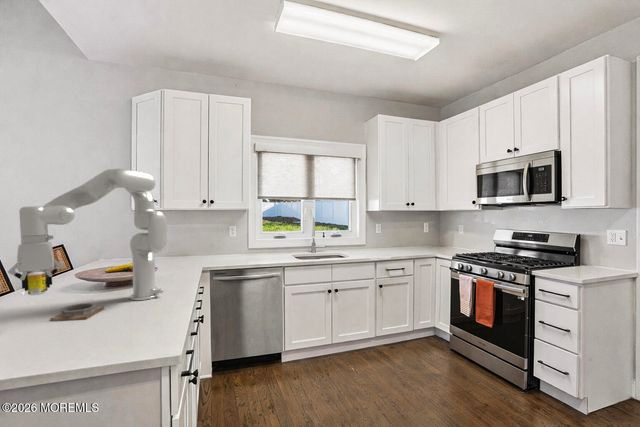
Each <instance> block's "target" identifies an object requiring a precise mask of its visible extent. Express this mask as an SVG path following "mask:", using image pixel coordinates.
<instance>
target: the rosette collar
mask: <svg viewBox="0 0 640 427" xmlns="http://www.w3.org/2000/svg"><path fill="white" fill-rule="evenodd" d="M103 309H104V310H105V306H96V304H95V303H80V304H79V303H77V304H73V305H69V306H66V307H64V308H61V313H59V314H57V315H55V316H51V317H50V320H49V321H50V322H54V321H55V322H57V321H58V322H59V321H80V320H81V321H82V320H88V319H89V318H92V317H93V316H95V315H97V314H99V313H100V312H102V311H104V310H103Z"/></svg>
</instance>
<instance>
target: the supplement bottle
mask: <svg viewBox="0 0 640 427" xmlns="http://www.w3.org/2000/svg"><path fill="white" fill-rule="evenodd" d="M47 275H48V274H47V272H46V271H45V270H35V271H31V272H27V275H26V278H27V288H28V290H27V295H29V296H39V295H40V296H41V295H44V294H45V293H48V289H49V288H47Z"/></svg>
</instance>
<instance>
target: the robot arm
mask: <svg viewBox="0 0 640 427" xmlns="http://www.w3.org/2000/svg"><path fill="white" fill-rule="evenodd" d="M155 187H156V180H155V178H154V177H153V176H152V175H151V174H149V173H146V172H143V171H138V170H137V171H136V170H131V169H126V168H110V169H109V168H108V169H106V170H103V171H102V172H100V173H98V174H96V176H94V177H92V178H90V180H88V181H86V182H84V183H83V184H81V185H79V186H77V187H75V188H73V189H71V190H69V191H67V192H64V193H62V194H61V195H59V196H57V197H55V198H53V199H51V200H50V201H49V202H47V203H45V204H44V205H43V206H41V205H40V206H39V205H36V206H35V205H34V206H30V205H29V206H22V207H20V209H19V210H18V211H19V227H20V228H19V229H20V243H21V244H18V247H17V256H16V263H15V264H14V265H13V266H11V267H10V269H9V270H8V271H7V273H8V274H10V275H12V276H14V277H15V278H17V279H19V280H20V281H21V289H24V291H25V292H28V288H27V273H28V272H31V271H35V270H45V271H46V272H47V288H48V289H49V288H51V286H53V276H54V275H55V274H56V273H57V272H58V271H60V269H62V268H63V266H64V265H63V264H62V263H61V262H59V261H58V260H56V259H55V255H54V249H53V248H54V247H53V245H52V241H51V240H54V235H50V234H49V230H48V229H49V228H48V226H49V225H55V226H56V225H58V226H61V225H67V224H69V223H71V222H72V221H73V220H74V218H75V214H76V213H75V212H74V210H76V209H79V208H82V207H85V206H89V205H93V204H94V203H96V202H99V201H101V199H103V198H104V197H106V196H107V195H108V194H110V193H111V192H113V190H115V189H121V188H122V189H124V190H126V191H127V192H128V193H129V194H130V195H131V197H132V199H133V201H134V210H133V211H134V214H133V215H134V218H133V224H134V226H135V227H136V229H138V230H141V231H147V232H138V233H136V234H134V235H133V236H132V237H131V239H130V241H129V246H130V251H131V255H132V292H133V293H132V294H131V295H129V300H131V301H146V300H150V299H151V300H152V299H155V298H157V297H159V295H160V294H164V292H165V290H164V288H158V286H157V285H156V261H155V260H156V259H155V256H154V254H159V253H161V252H162V251H164V249H165V248H166V244H167V237H168V236H167V234H168V233H167V232H168V221H167V217H166V215H165V214H164V213H163V212H162V211H159V210H155V200H154V199H155V198H154V196H153V194H152V192H151V191H152V190H154V188H155ZM49 241H50V242H49ZM54 267H55V268H54ZM51 269H52V270H51ZM16 270H17V271H16ZM21 273H22V274H21Z"/></svg>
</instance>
